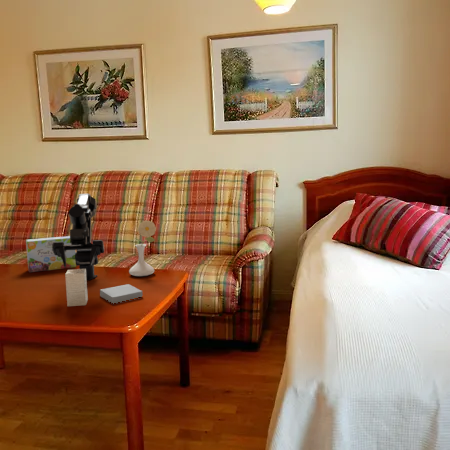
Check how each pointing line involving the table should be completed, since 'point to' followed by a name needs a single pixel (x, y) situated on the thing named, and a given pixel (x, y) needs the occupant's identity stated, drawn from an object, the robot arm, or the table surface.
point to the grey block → (120, 293)
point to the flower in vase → (141, 266)
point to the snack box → (48, 254)
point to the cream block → (76, 287)
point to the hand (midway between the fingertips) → (77, 266)
